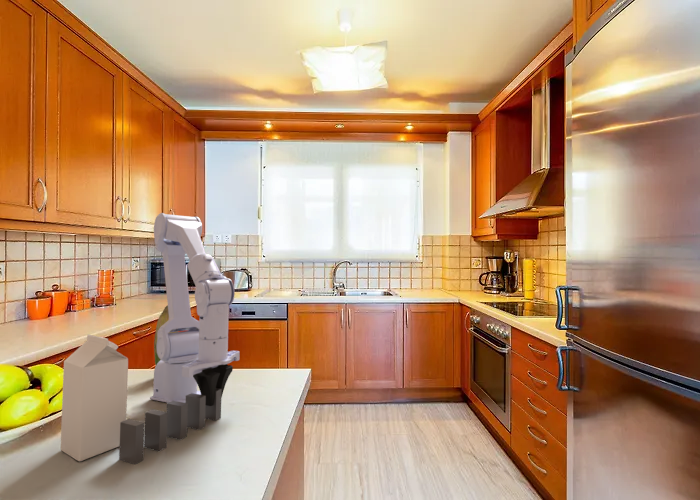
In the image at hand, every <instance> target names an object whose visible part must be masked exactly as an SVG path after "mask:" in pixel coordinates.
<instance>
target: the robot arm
mask: <svg viewBox="0 0 700 500" xmlns="http://www.w3.org/2000/svg"><path fill="white" fill-rule="evenodd" d="M153 225H154V226H153V239H154V240H153V241H154V244H155V249H156V251H159V252H160V253H161V254H162V260H163V261H162V262H163V269H164V280H165V289H166V291H165V292H166V299H167V301H166V302H167V305H168V312H169V320H168V321H167V322H166V323H165V324H163V325H162V326H161V327H160V328H159V330H158V332H157V346H156V348H157V354H158V357H159V358H160V359H161V360H160V361H159V362H158V363H157V365H155V368H154V369H153V389H152V390H153V391H152V392H153V393H152V394H153V395H152V396H150V397H149V399H150V400H154V401H159V402H162V403H166V404H167V403H169V402H171V401H178V402H183V403H186V395H188V394H191V393H194V394H199V395H205V396H206V403H205V405H207V406H212V405H213V404H214V400H215V389H216V388H220V389H222V394H221V399H222V397H223V393H224V390H225V386H226V384H227V382H228V379H229V378H230V375H232V374H231V373H232V372H233V370H234V369H233V368H234V367H233V365H230V363H232V362H238V361H240V356H241V355H240V351H239V350H230V351H228V349H229V318H230V317H229V310H230V309H229V307H230V306H231V305H232V304H233V302H234V299H235V287H234V283H233V280H232V279H231V278H228V277H226V275H223V274H222V273H221V271H220V269H219V267H218V265H217V262H216V261H215V259H214V257H213V256H212V254H211V255H210V254H207V253H206V250H205V247H204V244H203V242H202V238H201V236H202V233H203V223H202V221H201V219H200V217H198V216H189V215H177V214H169V213H168V214H166V213H164V212H159V214H157V215H156V217H155V219H154V224H153ZM186 256H187V257H188V259H189V261H188V263H187V267H186V258H185V257H186ZM187 269H188V272H189V274H190V276H191V278H192V280H193V284H194V285H195V291H194V299H195V304H196V313H197V316H199V318H198V319H199V320H198V319H196V318H194V317H193V316H192V313H191V302H190V294H189V285H188V277H187V275H188V274H187ZM177 331H178V332H177ZM169 332H175V333H169ZM198 388H199V390H198Z"/></svg>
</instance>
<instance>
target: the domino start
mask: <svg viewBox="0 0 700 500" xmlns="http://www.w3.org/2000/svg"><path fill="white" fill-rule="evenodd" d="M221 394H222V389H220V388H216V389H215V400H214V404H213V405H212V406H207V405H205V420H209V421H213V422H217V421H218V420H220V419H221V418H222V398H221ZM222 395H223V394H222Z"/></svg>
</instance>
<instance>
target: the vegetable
mask: <svg viewBox="0 0 700 500" xmlns="http://www.w3.org/2000/svg"><path fill="white" fill-rule="evenodd" d="M168 320H169V312H168V304H167V305H166V306H165V307H164V309H163V310H162V312H161V313H160V315H159V317H158V319H157V322H156V327H155V334H154V341H153V345H154V346H153V350H154V351H153V353H154V365H155V366H156V365H157V363H158V362H159V361H160V360H161V359H160V358H159V357H158V354H157V348H156V346H157V332H158V330H159V328H160V327H161V326H162V325H163V324H165V323H166V322H167V321H168ZM177 332H179V331H177ZM169 333H175V332H169Z"/></svg>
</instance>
